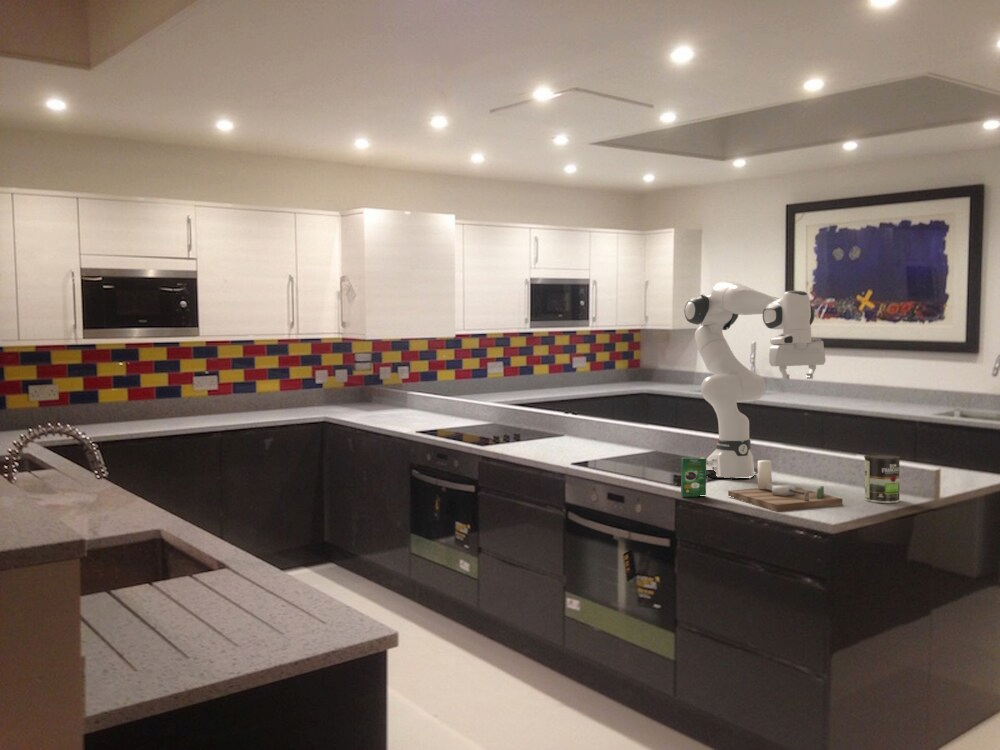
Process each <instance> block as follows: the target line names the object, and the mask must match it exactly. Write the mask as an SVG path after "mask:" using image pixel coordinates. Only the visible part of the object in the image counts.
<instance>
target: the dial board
mask: <svg viewBox="0 0 1000 750" xmlns="http://www.w3.org/2000/svg"><path fill="white" fill-rule="evenodd" d="M795 490H797V491H801V492H805V494H804V495H802V494H798V493H795V495H791V496H781V495H774V494H772V490H769V489H759V488H758V487H757V488H747V489H745V488H744V489H735V490H732V489H731V490H727V491H728V493H727V494H728V495H727V496H731V497H734V498H737V499H740V500H743V501H742V502H744V501H746V502H745V503H747V502H749V503H748V504H750V503H752V504H751V505H754V504H755V506H757V505H758V506H757V507H761V508H763V509H767V510H771V511H774V512H784V511H794V510H797V511H798V510H804V509H805V510H806V509H816V508H826V507H836V506H843V498H842V497H838V496H834V495H831V494H825V487H824V485H819V487H818V488H816V491H813V490H810V489H806V488H805V489H804V488H802V487H796V486H795ZM731 497H730V498H731ZM734 498H733V499H734ZM737 499H736V500H737ZM740 500H739V501H740Z"/></svg>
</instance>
